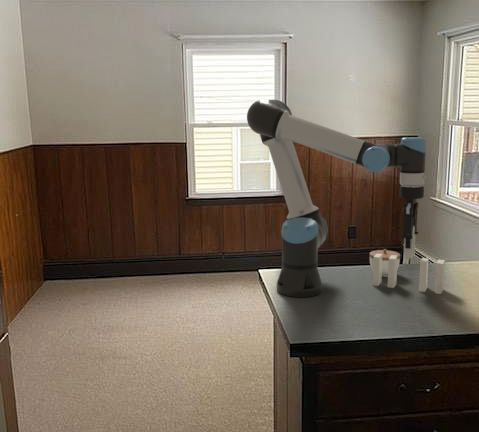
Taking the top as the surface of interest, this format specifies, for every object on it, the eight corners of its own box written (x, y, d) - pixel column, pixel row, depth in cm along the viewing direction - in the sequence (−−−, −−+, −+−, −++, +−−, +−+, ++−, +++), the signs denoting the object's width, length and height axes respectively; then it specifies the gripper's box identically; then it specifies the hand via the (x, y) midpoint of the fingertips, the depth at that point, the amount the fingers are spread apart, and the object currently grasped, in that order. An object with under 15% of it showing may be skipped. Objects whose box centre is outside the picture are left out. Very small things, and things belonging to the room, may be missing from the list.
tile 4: (418, 291, 171) (420, 261, 169) (420, 286, 176) (422, 257, 174) (425, 292, 170) (426, 262, 169) (427, 287, 175) (428, 258, 173)
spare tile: (404, 257, 171) (406, 228, 170) (407, 254, 176) (408, 225, 174) (411, 258, 171) (412, 228, 169) (413, 254, 175) (414, 225, 173)
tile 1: (372, 285, 178) (373, 256, 176) (375, 281, 182) (376, 253, 180) (378, 286, 177) (379, 257, 175) (381, 282, 181) (382, 254, 180)
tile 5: (434, 293, 169) (436, 263, 167) (436, 288, 174) (438, 259, 172) (441, 294, 168) (443, 263, 166) (443, 289, 173) (444, 260, 171)
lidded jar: (403, 272, 192) (404, 247, 190) (394, 280, 183) (395, 254, 181) (374, 268, 197) (375, 244, 196) (364, 276, 189) (365, 250, 187)
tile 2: (387, 287, 176) (388, 258, 174) (390, 283, 180) (391, 254, 178) (393, 288, 175) (394, 259, 173) (396, 283, 179) (397, 255, 177)
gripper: (420, 189, 159) (417, 263, 164) (427, 182, 175) (424, 250, 179) (394, 188, 163) (392, 261, 167) (404, 182, 179) (402, 248, 183)
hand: (409, 255), depth 173 cm, fingers closed on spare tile, 5 cm apart
